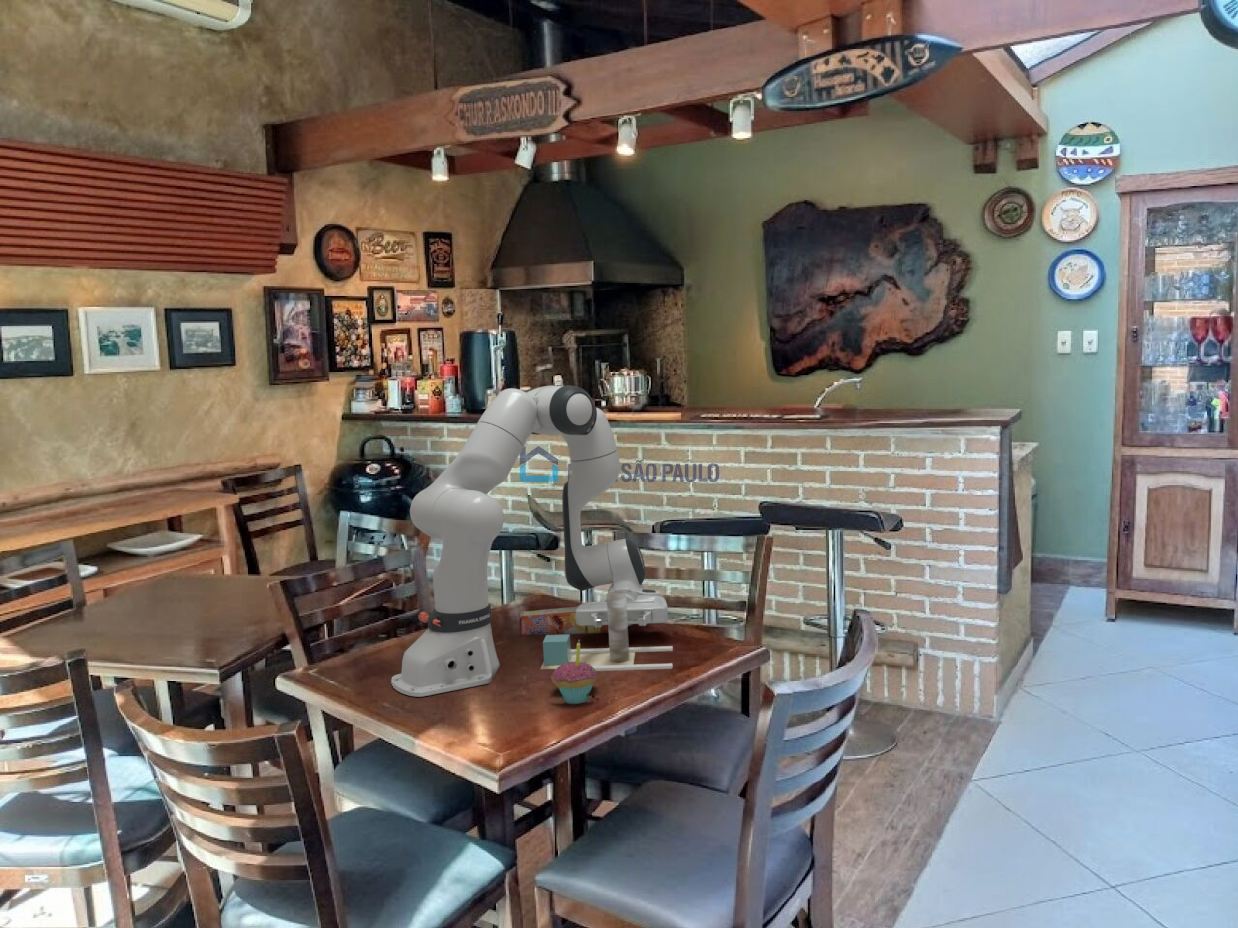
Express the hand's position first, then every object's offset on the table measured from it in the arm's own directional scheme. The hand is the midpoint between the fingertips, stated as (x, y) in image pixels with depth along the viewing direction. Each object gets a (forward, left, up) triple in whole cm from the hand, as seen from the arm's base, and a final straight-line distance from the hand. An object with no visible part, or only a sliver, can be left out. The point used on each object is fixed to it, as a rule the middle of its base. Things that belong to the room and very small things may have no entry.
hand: (619, 622), depth 193 cm
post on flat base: (-8, +1, -8) cm, 11 cm away
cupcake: (-20, -12, -8) cm, 25 cm away
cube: (-13, +5, -7) cm, 15 cm away
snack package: (+2, +25, -9) cm, 26 cm away
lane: (-3, -3, -8) cm, 9 cm away
